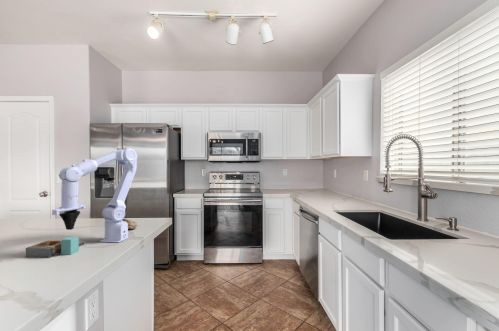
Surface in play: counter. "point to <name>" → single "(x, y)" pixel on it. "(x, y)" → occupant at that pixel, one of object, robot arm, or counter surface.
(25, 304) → the counter surface
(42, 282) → the counter surface
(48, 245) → the brown rectangular frame
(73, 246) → the aqua rectangular prism
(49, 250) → the backstop
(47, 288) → the counter surface
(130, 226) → the decorative stone
